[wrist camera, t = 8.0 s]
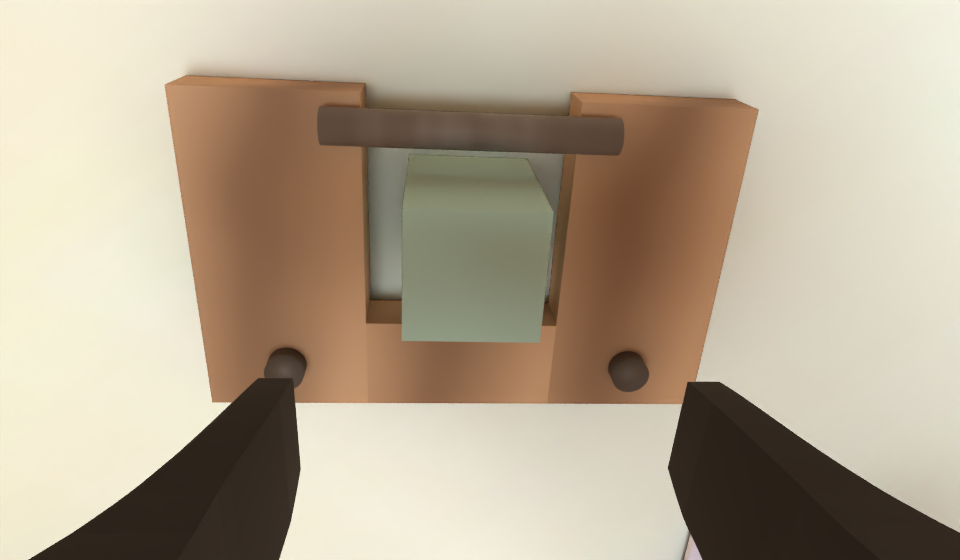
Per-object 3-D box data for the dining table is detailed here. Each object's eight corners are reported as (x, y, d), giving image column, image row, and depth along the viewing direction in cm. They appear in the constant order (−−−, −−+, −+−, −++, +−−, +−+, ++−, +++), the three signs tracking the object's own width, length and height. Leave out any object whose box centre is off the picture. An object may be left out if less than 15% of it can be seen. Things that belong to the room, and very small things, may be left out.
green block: (526, 158, 20) (554, 212, 15) (517, 265, 22) (539, 342, 17) (409, 154, 20) (402, 208, 15) (408, 262, 21) (401, 340, 17)
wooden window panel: (734, 99, 20) (775, 116, 17) (674, 377, 24) (701, 421, 21) (185, 75, 18) (149, 91, 16) (226, 374, 22) (202, 421, 20)
